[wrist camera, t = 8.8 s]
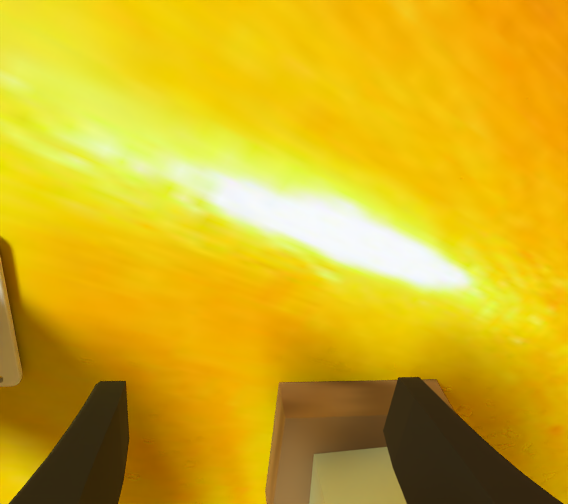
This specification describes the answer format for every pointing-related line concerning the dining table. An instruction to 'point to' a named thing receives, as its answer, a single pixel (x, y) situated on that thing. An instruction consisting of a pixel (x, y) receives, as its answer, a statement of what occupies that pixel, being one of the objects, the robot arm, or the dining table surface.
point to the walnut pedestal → (324, 428)
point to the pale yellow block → (355, 478)
